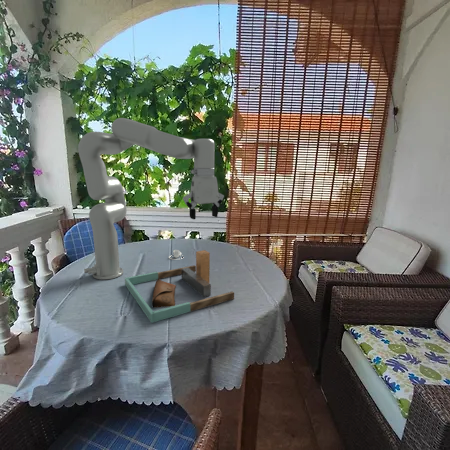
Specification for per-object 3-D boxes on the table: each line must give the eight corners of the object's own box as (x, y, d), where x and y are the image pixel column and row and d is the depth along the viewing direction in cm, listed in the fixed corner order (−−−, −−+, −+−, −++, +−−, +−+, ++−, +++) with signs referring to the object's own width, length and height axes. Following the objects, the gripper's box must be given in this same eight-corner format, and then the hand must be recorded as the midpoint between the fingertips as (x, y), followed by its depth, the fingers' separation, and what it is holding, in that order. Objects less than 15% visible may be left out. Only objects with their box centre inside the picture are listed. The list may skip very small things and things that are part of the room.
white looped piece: (177, 254, 156) (177, 247, 156) (188, 257, 152) (188, 250, 151) (165, 258, 150) (165, 250, 149) (176, 261, 145) (176, 254, 144)
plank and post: (203, 297, 107) (203, 261, 104) (181, 278, 124) (181, 247, 121) (219, 292, 111) (220, 258, 108) (196, 275, 128) (195, 245, 124)
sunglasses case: (176, 306, 100) (166, 291, 98) (159, 316, 100) (148, 302, 98) (176, 284, 118) (167, 271, 116) (161, 293, 117) (152, 280, 115)
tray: (151, 322, 90) (151, 314, 89) (125, 284, 116) (124, 277, 116) (190, 311, 97) (190, 303, 96) (157, 278, 124) (157, 271, 123)
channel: (190, 311, 97) (190, 304, 97) (157, 278, 124) (157, 272, 123) (234, 298, 107) (234, 292, 106) (194, 270, 133) (194, 265, 133)
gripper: (187, 173, 100) (188, 221, 104) (228, 173, 109) (227, 217, 113) (178, 172, 106) (179, 217, 110) (218, 172, 115) (218, 214, 119)
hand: (204, 217), depth 111 cm, fingers open, 9 cm apart
